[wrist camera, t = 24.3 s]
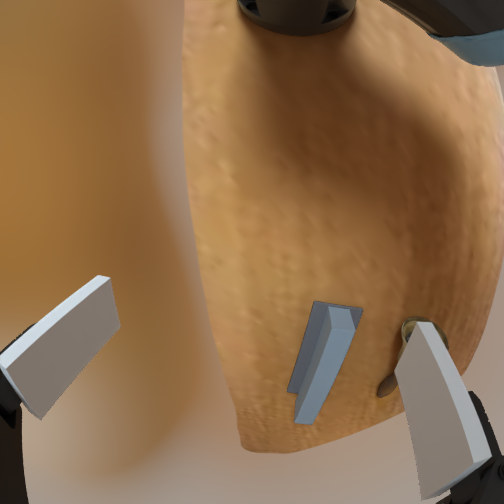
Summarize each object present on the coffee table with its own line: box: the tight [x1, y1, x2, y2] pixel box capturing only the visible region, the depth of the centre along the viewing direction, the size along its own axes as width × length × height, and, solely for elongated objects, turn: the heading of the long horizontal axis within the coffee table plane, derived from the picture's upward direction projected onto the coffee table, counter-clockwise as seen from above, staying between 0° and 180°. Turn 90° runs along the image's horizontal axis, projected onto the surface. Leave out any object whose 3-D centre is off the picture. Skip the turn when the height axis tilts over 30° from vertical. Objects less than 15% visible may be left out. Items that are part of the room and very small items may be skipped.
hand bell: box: [377, 317, 449, 398], centre depth 35 cm, size 8×8×16 cm
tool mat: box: [287, 301, 363, 394], centre depth 38 cm, size 18×7×1 cm, turn 172°
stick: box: [294, 306, 355, 425], centre depth 36 cm, size 20×3×5 cm, turn 172°
